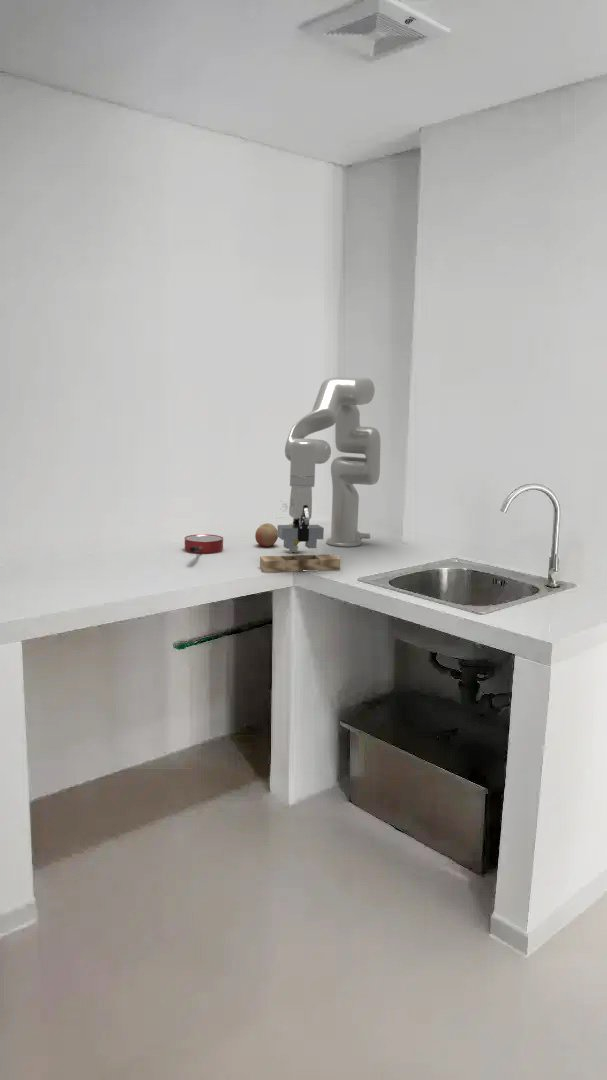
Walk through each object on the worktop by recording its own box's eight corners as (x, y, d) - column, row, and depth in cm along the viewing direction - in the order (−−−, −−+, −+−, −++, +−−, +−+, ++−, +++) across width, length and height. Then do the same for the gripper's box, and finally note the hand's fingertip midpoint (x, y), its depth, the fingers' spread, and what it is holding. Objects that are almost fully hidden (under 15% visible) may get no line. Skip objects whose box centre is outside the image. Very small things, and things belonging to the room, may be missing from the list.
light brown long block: (333, 564, 254) (333, 554, 253) (340, 570, 247) (340, 559, 246) (259, 567, 248) (260, 556, 247) (264, 572, 241) (264, 561, 240)
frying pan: (221, 567, 246) (221, 547, 245) (179, 567, 245) (179, 547, 244) (223, 546, 278) (223, 529, 277) (185, 546, 277) (185, 528, 275)
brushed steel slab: (317, 545, 251) (318, 524, 249) (322, 548, 244) (323, 528, 243) (277, 545, 247) (277, 525, 246) (281, 549, 241) (282, 528, 240)
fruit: (250, 545, 281) (251, 523, 280) (270, 543, 286) (270, 521, 284) (262, 549, 275) (262, 526, 273) (282, 547, 279) (282, 525, 278)
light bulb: (303, 550, 275) (304, 522, 273) (301, 554, 268) (302, 525, 266) (284, 549, 275) (285, 521, 273) (282, 553, 269) (283, 524, 267)
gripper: (283, 478, 249) (282, 534, 253) (297, 484, 233) (295, 544, 236) (306, 478, 251) (304, 534, 255) (321, 484, 235) (319, 544, 238)
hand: (300, 538), depth 245 cm, fingers closed on brushed steel slab, 6 cm apart
